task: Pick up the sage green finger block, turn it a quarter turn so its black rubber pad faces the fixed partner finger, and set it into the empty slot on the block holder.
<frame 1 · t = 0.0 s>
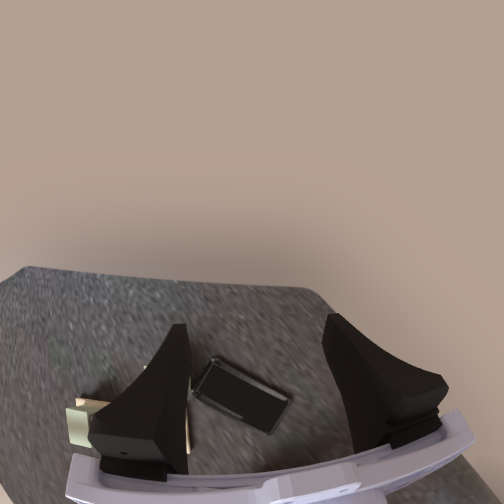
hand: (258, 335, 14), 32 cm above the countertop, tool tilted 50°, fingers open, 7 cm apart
block holder: (131, 426, 37), on the countertop
phone: (241, 397, 41), on the countertop
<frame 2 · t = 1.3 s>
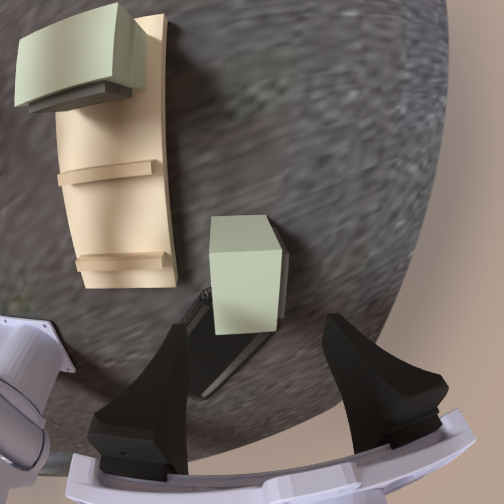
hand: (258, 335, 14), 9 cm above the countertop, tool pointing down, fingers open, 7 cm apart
finger block: (238, 251, 22), on the countertop
block holder: (113, 157, 17), on the countertop
phone: (204, 348, 27), on the countertop
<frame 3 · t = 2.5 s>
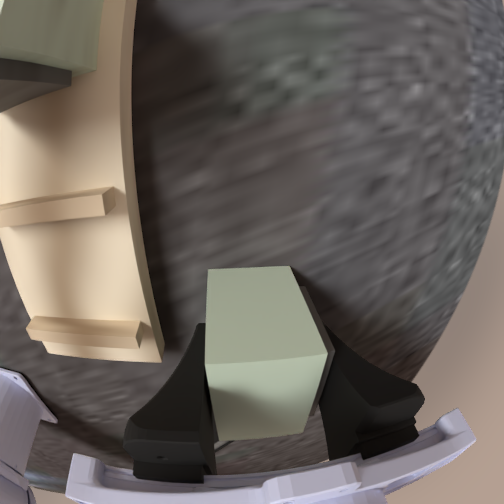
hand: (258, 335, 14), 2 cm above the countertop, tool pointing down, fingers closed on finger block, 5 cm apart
finger block: (249, 315, 15), on the countertop, touching gripper
block holder: (60, 181, 11), on the countertop
when the fingers open (4 cm above the countertop, at t = 6.1 s): finger block stays where it is, point 2 cm above the countertop.
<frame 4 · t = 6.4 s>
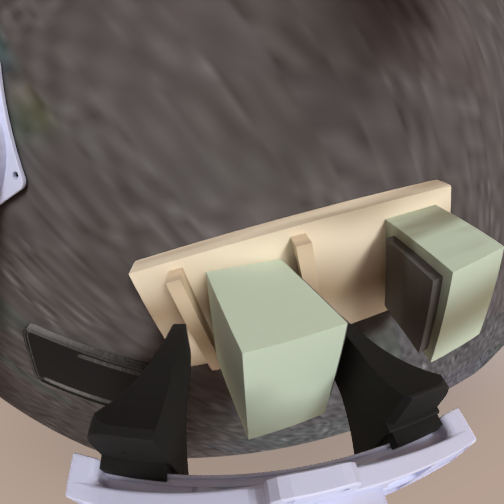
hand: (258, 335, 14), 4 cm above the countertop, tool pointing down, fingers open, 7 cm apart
finger block: (246, 313, 15), point 2 cm above the countertop, tilted 13°
block holder: (311, 272, 17), on the countertop
phone: (102, 372, 21), on the countertop
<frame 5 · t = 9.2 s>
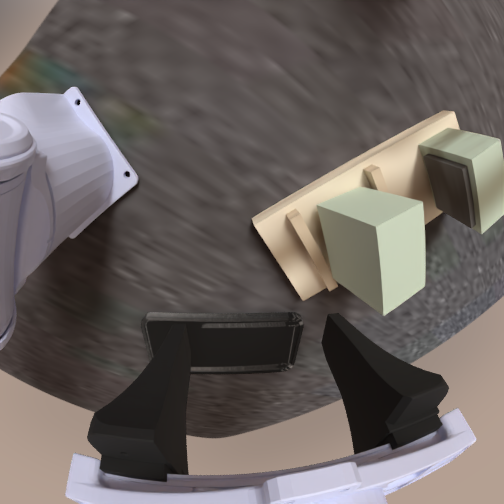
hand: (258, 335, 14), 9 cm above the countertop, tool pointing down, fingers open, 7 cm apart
finger block: (347, 233, 20), point 2 cm above the countertop, tilted 14°, touching block holder
block holder: (379, 196, 21), on the countertop
phone: (222, 339, 27), on the countertop
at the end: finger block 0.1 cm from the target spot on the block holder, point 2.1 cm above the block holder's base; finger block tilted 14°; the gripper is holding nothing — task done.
